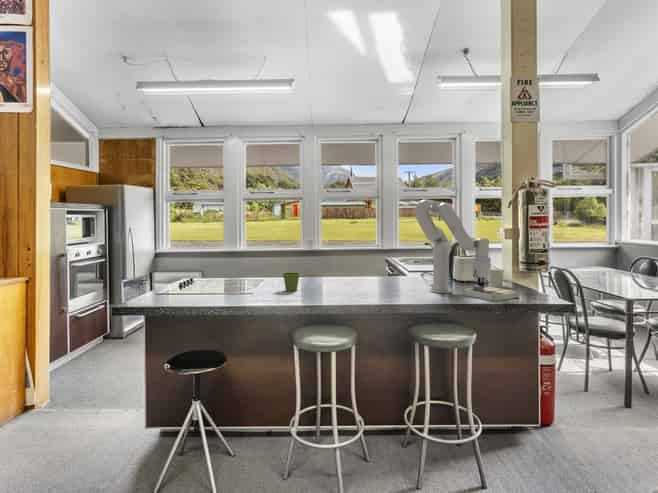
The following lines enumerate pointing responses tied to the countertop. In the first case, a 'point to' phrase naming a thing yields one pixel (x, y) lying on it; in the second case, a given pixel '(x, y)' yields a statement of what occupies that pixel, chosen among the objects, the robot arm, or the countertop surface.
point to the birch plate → (500, 292)
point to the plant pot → (291, 280)
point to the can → (495, 277)
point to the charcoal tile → (478, 288)
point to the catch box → (484, 295)
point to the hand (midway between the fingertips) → (480, 288)
